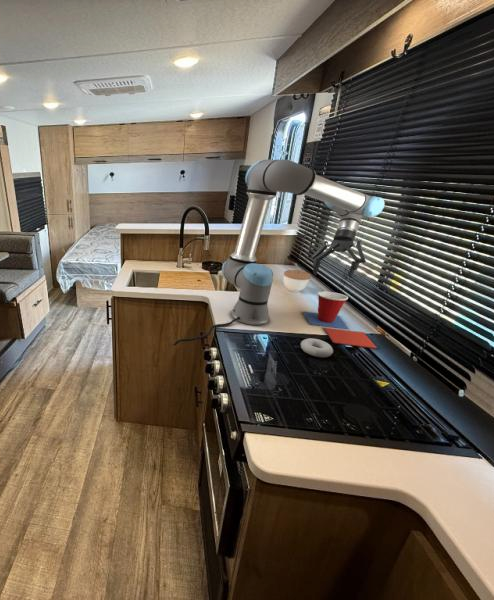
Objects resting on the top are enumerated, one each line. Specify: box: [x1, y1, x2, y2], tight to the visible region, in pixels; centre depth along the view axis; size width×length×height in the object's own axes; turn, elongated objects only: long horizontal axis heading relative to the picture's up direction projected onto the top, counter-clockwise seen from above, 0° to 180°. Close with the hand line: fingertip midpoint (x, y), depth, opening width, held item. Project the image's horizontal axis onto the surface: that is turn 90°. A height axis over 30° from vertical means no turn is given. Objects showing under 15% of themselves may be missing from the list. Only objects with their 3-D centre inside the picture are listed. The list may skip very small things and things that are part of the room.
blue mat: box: [302, 311, 349, 330], centre depth 134 cm, size 12×14×1 cm
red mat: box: [323, 327, 378, 350], centre depth 120 cm, size 12×14×1 cm
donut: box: [300, 338, 334, 359], centre depth 111 cm, size 10×4×10 cm
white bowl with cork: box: [282, 269, 312, 293], centre depth 165 cm, size 13×13×11 cm
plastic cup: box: [316, 291, 349, 323], centre depth 131 cm, size 11×11×12 cm
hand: (331, 275), depth 136 cm, fingers open, 13 cm apart
